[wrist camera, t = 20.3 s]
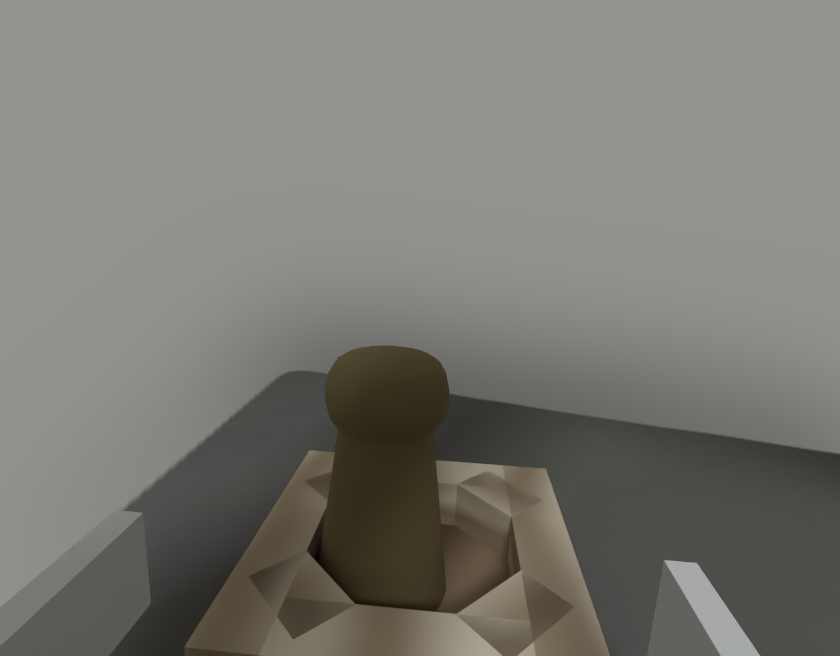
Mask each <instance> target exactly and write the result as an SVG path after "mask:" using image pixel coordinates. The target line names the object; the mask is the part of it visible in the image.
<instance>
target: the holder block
mask: <svg viewBox="0 0 840 656" xmlns="http://www.w3.org/2000/svg"><path fill="white" fill-rule="evenodd" d="M334 454H335V452H324V451H311V450H310V451H309V452H308V454H307V455H306V457H305V458H304V460H303V462H302V463H301V465H300V466H299V468H298V469H297V471H296V473H295V474H294V476H293V477H292V479H291V480H290V482H289V483H288V485H287V487H286V488H285V490H284V491H283V493H282V494H281V496H280V498H279V499H278V501H277V502H276V504H275V505H274V507H273V509H272V510H271V512H270V513H269V515H268V516H267V518H266V520H265V521H264V523H263V524H262V526H261V527H260V529H259V531H258V532H257V534H256V535H255V537H254V538H253V540H252V541H251V543H250V545H249V546H248V548H247V549H246V551H245V552H244V554H243V556H242V557H241V559H240V560H239V562H238V563H237V565H236V567H235V568H234V570H233V571H232V573H231V574H230V576H229V578H228V579H227V581H226V582H225V584H224V585H223V587H222V588H221V590H220V592H219V593H218V595H217V596H216V598H215V599H214V601H213V603H212V604H211V606H210V607H209V609H208V610H207V612H206V614H205V615H204V617H203V618H202V620H201V621H200V623H199V625H198V626H197V628H196V629H195V631H194V632H193V634H192V636H191V637H190V639H189V640H188V642H187V643H186V645H185V646H184V653H185V656H610V654H609V651H608V648H607V645H606V642H605V639H604V637H603V634H602V631H601V628H600V625H599V622H598V619H597V616H596V613H595V610H594V607H593V605H592V602H591V599H590V596H589V593H588V590H587V587H586V584H585V581H584V578H583V576H582V573H581V570H580V567H579V564H578V561H577V558H576V555H575V552H574V549H573V546H572V544H571V541H570V538H569V535H568V532H567V529H566V526H565V523H564V520H563V517H562V515H561V512H560V509H559V506H558V503H557V500H556V497H555V494H554V491H553V488H552V486H551V483H550V480H549V477H548V474H547V471H546V469H542V468H529V467H516V466H503V465H491V464H478V463H465V462H452V461H439V460H436V468H437V480H438V492H439V505H440V517H441V529H442V541H443V553H444V566H445V578H446V593H445V595H444V598H443V600H442V603H441V605H440V607H439V608H438V609H437V610H436V611H435V612H431V611H421V610H410V609H400V608H390V607H380V606H369V605H359V604H355V603H354V602H353V601H352V600H351V599H350V598H349V597H348V596H347V595H346V593H345V592H344V591H343V590H342V589H341V588H340V587H339V586H338V585H337V584H336V583H335V582H334V580H333V579H332V578H331V577H330V576H329V575H328V574H327V573H326V572H325V571H324V570H323V568H322V567H321V566H320V565H319V564H318V561H319V554H320V547H321V541H322V534H323V527H324V521H325V514H326V507H327V501H328V494H329V487H330V480H331V474H332V467H333V460H334Z"/></svg>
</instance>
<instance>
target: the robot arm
mask: <svg viewBox="0 0 840 656" xmlns="http://www.w3.org/2000/svg"><path fill="white" fill-rule="evenodd" d="M150 604H151V597H150V586H149V575H148V563H147V552H146V541H145V529H144V518H143V513H139V512H128V511H117V510H115V511H114V512H113V513H111V514H110V515H109V516H108V517H106V518H105V519H104V520H103V521H102V522H101V523H99V524H98V525H97V526H96V527H95V528H93V529H92V530H91V531H90V532H89V533H88V534H86V535H85V536H84V537H83V538H82V539H81V540H79V541H78V542H77V543H76V544H75V545H74V546H72V547H71V548H70V549H69V550H68V551H66V552H65V553H64V554H63V555H62V556H61V557H59V558H58V559H57V560H56V561H55V562H53V563H52V564H51V565H50V566H49V567H48V568H46V569H45V570H44V571H43V572H42V573H40V574H39V575H38V576H37V577H36V578H35V579H33V580H32V581H31V582H30V583H29V584H28V585H26V586H25V587H24V588H23V589H22V590H20V591H19V592H18V593H17V594H16V595H15V596H13V597H12V598H11V599H10V600H9V601H8V602H6V603H5V604H4V605H3V606H2V607H0V656H109V655H110V654H111V653H112V652H113V650H114V649H115V648H116V647H117V645H118V644H119V643H120V642H121V640H122V639H123V638H124V637H125V635H126V634H127V633H128V632H129V630H130V629H131V628H132V627H133V625H134V624H135V623H136V622H137V620H138V619H139V618H140V617H141V615H142V614H143V613H144V612H145V610H146V609H147V608H148V607H149V605H150ZM647 655H648V656H760V655H759V654H758V652H757V651H756V649H755V648H754V646H753V645H752V643H751V642H750V640H749V639H748V637H747V636H746V635H745V633H744V632H743V630H742V629H741V627H740V626H739V624H738V623H737V621H736V620H735V618H734V617H733V615H732V614H731V613H730V611H729V610H728V608H727V607H726V605H725V604H724V602H723V601H722V599H721V598H720V596H719V595H718V593H717V592H716V591H715V589H714V588H713V586H712V585H711V583H710V582H709V580H708V579H707V577H706V576H705V574H704V573H703V571H702V570H701V569H700V567H699V566H698V564H697V563H690V562H679V561H668V560H664V563H663V569H662V574H661V580H660V586H659V591H658V597H657V603H656V608H655V614H654V620H653V625H652V631H651V637H650V642H649V648H648V653H647Z"/></svg>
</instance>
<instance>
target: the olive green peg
mask: <svg viewBox="0 0 840 656" xmlns="http://www.w3.org/2000/svg"><path fill="white" fill-rule="evenodd" d="M325 402H326V405H327V409H328V413H329V416H330V418H331V421H332V422H333V423H334V425H335V426H336V427H337V429H338V434H337V440H336V447H335V454H334V460H333V467H332V474H331V480H330V487H329V494H328V501H327V507H326V514H325V521H324V527H323V534H322V541H321V547H320V554H319V561H318V564H319V565H320V566H321V567H322V568H323V570H324V571H325V572H326V573H327V574H328V575H329V576H330V577H331V578H332V579H333V580H334V582H335V583H336V584H337V585H338V586H339V587H340V588H341V589H342V590H343V591H344V592H345V593H346V595H347V596H348V597H349V598H350V599H351V600H352V601H353V602H354V603H355V604H359V605H369V606H380V607H390V608H400V609H410V610H421V611H431V612H435V611H436V610H437V609H438V608H439V607H440V605H441V603H442V600H443V598H444V595H445V593H446V578H445V566H444V553H443V541H442V529H441V517H440V505H439V492H438V480H437V468H436V456H435V443H434V430H435V429H436V428H437V427H438V425H439V424H440V423H441V421H442V420H443V419H444V416H445V413H446V410H447V407H448V402H449V387H448V381H447V376H446V372H445V370H444V369H443V367H442V365H441V363H440V362H439V361H438V360H437V359H436V358H434V357H433V356H431V355H429V354H428V353H426V352H423V351H421V350H417V349H412V348H407V347H399V346H371V347H363V348H358V349H355V350H351V351H350V352H347V353H346V354H344V355H342V356H340V357H338V358H337V360H336V361H335V363H334V365H333V366H332V368H331V370H330V371H329V373H328V376H327V380H326V384H325Z"/></svg>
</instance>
